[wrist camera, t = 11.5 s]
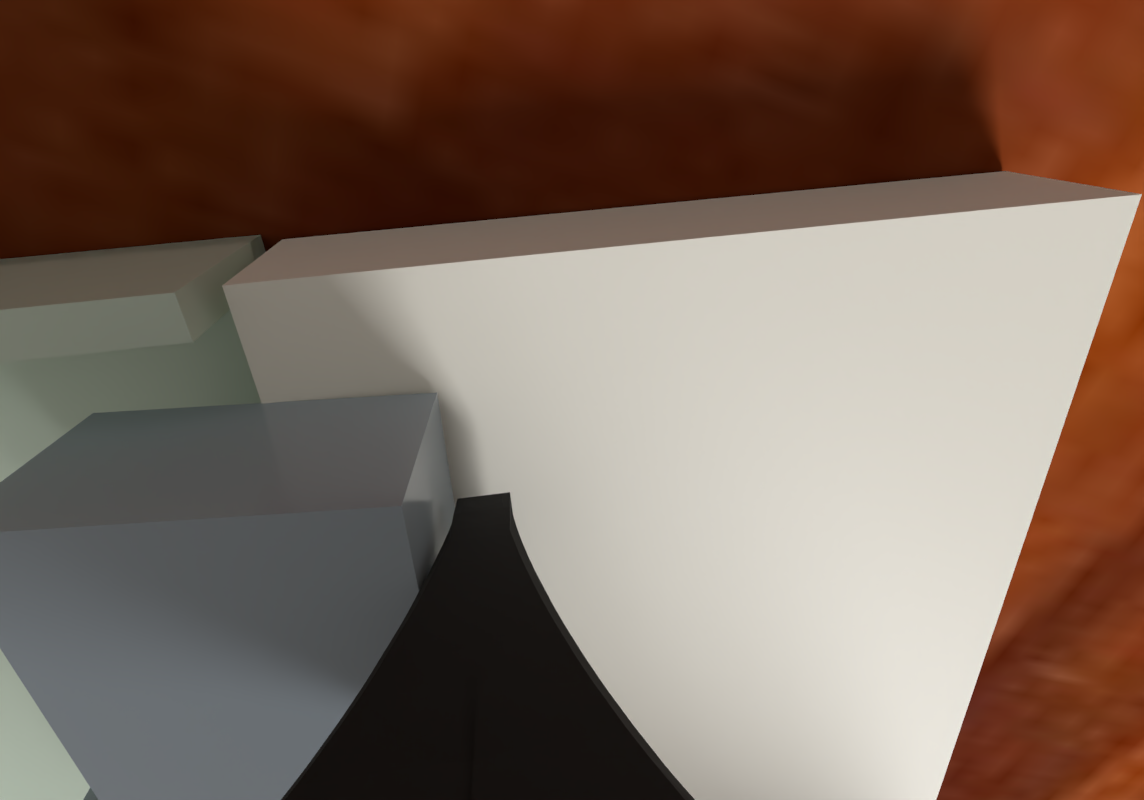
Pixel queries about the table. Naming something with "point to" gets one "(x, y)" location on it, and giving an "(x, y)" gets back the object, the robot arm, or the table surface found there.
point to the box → (104, 397)
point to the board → (739, 439)
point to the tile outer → (216, 582)
